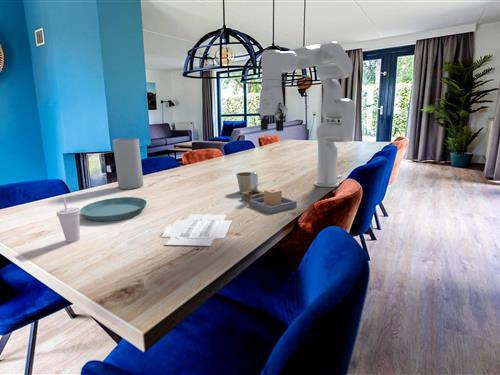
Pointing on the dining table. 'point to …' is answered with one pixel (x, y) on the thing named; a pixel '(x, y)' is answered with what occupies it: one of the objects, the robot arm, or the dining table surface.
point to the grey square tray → (285, 205)
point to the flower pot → (244, 181)
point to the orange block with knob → (272, 197)
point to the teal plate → (113, 208)
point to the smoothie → (70, 222)
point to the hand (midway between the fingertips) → (271, 130)
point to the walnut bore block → (249, 196)
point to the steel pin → (254, 183)
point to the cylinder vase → (128, 163)
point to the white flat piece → (197, 230)
